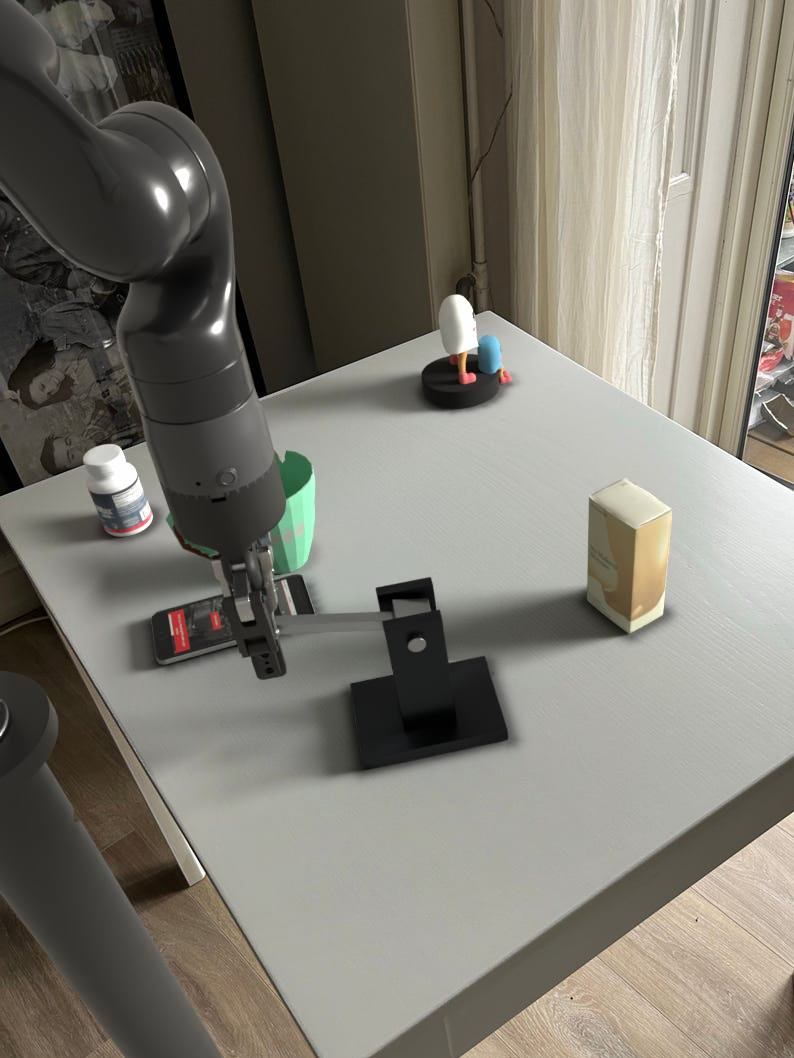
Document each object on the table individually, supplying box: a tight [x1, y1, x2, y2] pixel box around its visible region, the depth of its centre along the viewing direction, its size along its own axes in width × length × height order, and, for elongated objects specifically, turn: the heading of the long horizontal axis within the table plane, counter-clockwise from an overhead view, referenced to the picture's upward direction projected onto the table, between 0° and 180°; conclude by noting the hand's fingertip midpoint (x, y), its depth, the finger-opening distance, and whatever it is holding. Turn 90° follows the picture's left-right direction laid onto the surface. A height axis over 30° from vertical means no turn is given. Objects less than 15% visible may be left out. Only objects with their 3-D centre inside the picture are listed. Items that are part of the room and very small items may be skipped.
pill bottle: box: [82, 443, 154, 538], centre depth 105 cm, size 5×5×9 cm
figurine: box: [420, 294, 513, 410], centre depth 119 cm, size 10×11×12 cm
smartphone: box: [150, 573, 316, 665], centre depth 94 cm, size 7×1×15 cm
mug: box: [165, 449, 316, 575], centre depth 97 cm, size 15×10×10 cm
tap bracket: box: [349, 576, 509, 771], centre depth 79 cm, size 12×9×13 cm
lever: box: [264, 596, 431, 636], centre depth 75 cm, size 13×6×2 cm, turn 102°
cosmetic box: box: [586, 477, 673, 634], centre depth 87 cm, size 6×4×12 cm
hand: (270, 646), depth 75 cm, fingers closed on lever, 5 cm apart
